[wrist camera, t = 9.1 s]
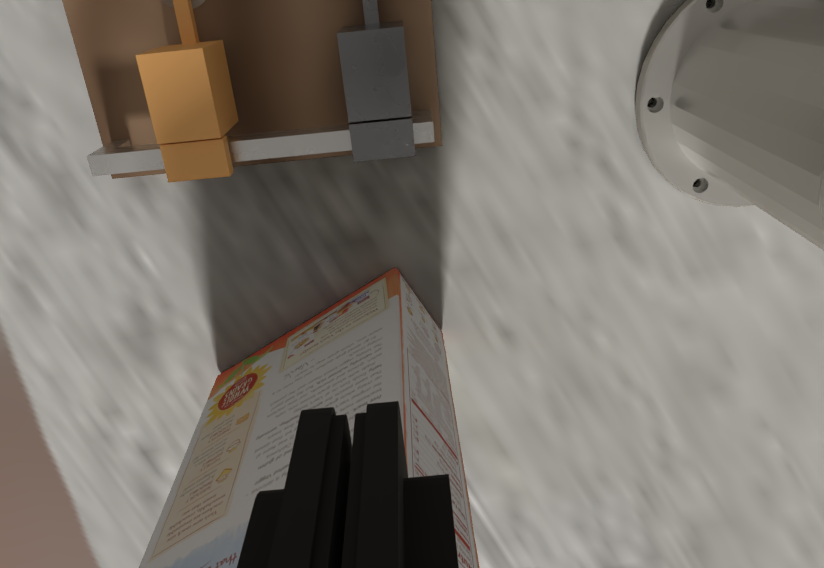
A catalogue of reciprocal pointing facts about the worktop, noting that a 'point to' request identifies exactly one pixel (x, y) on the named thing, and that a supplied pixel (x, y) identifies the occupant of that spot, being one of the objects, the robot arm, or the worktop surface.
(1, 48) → the worktop surface
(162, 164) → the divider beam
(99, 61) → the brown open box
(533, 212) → the worktop surface
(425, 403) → the cracker box
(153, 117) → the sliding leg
